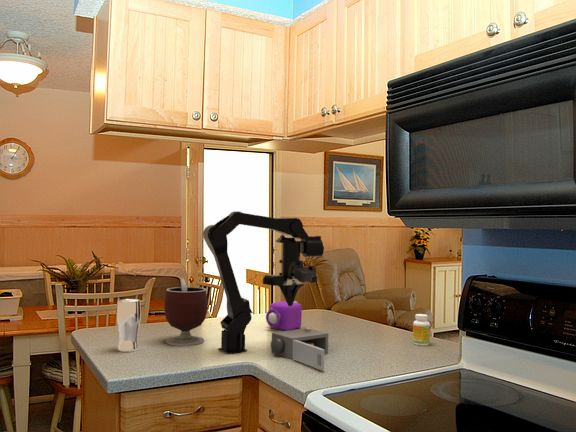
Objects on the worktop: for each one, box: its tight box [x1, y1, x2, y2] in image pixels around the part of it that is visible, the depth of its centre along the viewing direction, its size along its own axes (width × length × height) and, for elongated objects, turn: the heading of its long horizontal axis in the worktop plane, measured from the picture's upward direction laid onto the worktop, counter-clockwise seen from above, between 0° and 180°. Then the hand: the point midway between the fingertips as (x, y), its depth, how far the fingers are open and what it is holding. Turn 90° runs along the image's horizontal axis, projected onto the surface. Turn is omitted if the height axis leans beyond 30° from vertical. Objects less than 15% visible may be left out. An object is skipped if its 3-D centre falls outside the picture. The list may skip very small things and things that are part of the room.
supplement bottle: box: [412, 313, 431, 347], centre depth 186 cm, size 5×5×10 cm
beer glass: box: [116, 298, 142, 353], centre depth 170 cm, size 7×7×15 cm
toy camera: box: [265, 300, 303, 331], centre depth 208 cm, size 11×14×10 cm
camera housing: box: [270, 326, 329, 360], centre depth 170 cm, size 16×10×7 cm, turn 127°
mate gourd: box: [163, 277, 209, 347], centre depth 184 cm, size 16×14×20 cm
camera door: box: [291, 340, 325, 371], centre depth 156 cm, size 14×2×5 cm, turn 33°
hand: (290, 306), depth 178 cm, fingers closed
